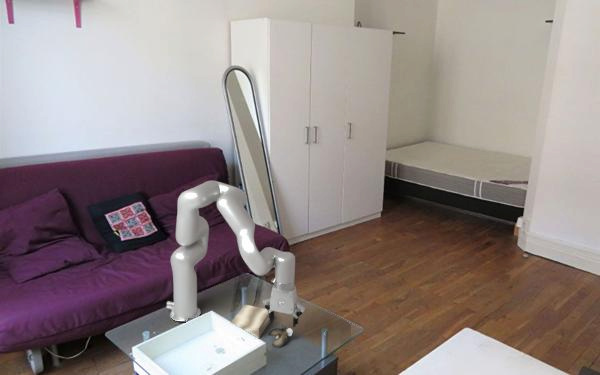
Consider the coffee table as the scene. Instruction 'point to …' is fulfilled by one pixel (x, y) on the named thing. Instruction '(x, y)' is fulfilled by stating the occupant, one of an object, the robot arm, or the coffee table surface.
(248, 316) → the pedestal
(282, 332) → the eagle figurine
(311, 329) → the coffee table surface
